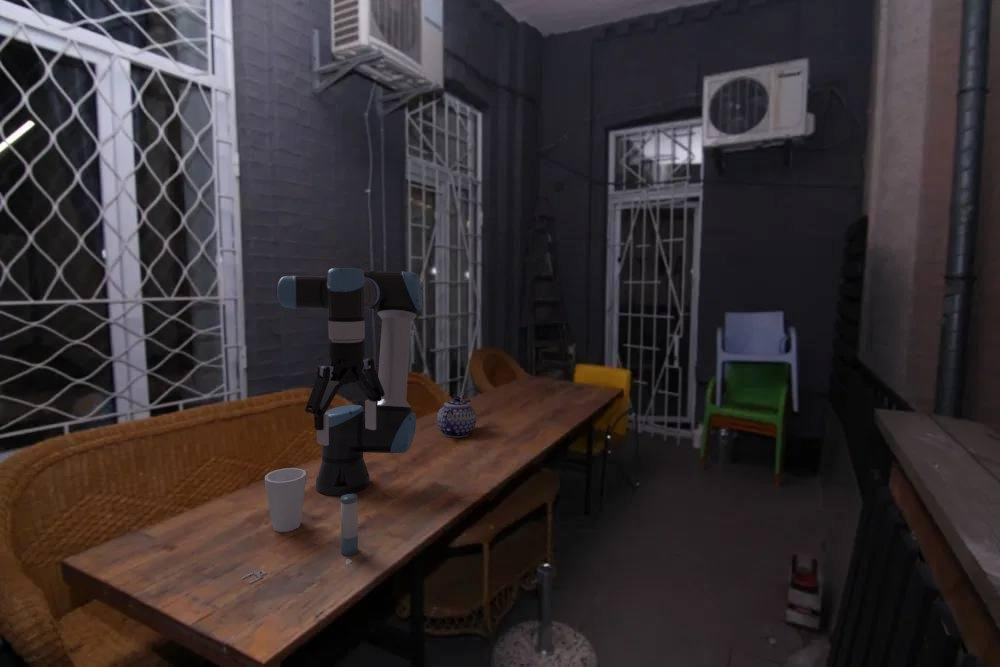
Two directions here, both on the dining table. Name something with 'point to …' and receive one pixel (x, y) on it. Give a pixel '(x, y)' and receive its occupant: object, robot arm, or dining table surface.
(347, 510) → the cylinder
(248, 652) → the dining table surface
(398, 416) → the robot arm
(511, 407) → the dining table surface
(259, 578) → the small grey pieces
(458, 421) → the blue ceramic jar
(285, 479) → the foam cup
